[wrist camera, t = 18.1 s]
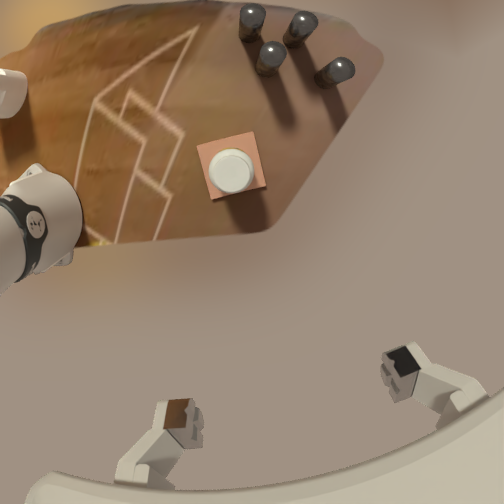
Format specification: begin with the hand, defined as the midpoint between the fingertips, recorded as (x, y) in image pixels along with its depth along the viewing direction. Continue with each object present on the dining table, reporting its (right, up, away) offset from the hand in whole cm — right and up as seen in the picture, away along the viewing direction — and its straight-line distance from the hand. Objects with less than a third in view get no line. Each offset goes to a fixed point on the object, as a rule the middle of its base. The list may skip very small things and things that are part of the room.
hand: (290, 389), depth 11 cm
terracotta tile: (-4, +18, +28) cm, 34 cm away
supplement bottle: (-4, +18, +28) cm, 33 cm away
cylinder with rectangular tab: (-45, +34, +19) cm, 59 cm away
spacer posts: (+3, +33, +22) cm, 40 cm away
